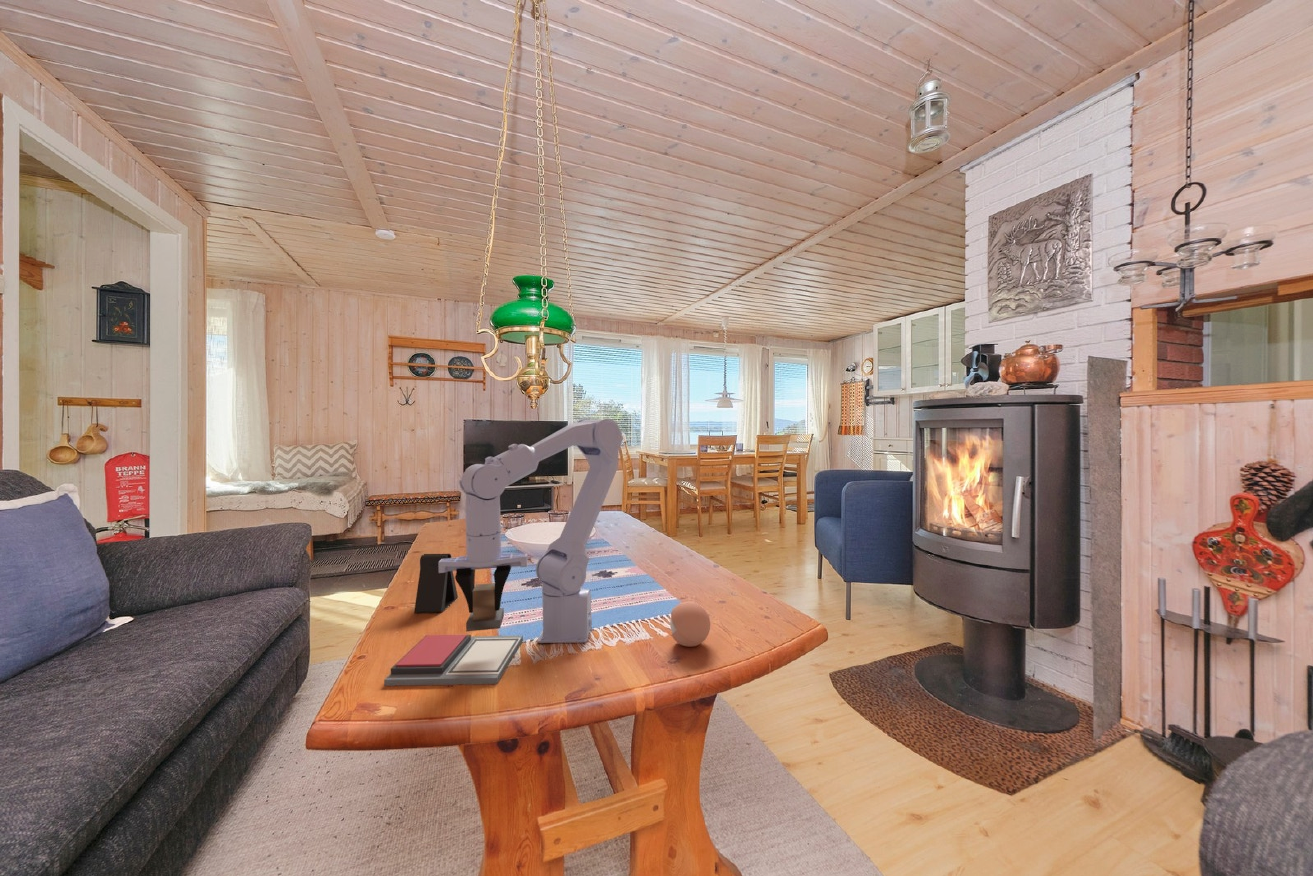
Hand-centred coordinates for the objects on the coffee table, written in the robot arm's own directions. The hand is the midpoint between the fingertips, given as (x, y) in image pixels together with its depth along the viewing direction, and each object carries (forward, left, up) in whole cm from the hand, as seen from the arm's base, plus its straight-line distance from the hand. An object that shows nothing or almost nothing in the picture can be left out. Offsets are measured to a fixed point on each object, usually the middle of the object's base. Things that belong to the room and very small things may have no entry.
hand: (485, 609), depth 82 cm
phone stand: (+21, -26, -9) cm, 34 cm away
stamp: (0, 0, -3) cm, 3 cm away
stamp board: (+5, 0, -9) cm, 10 cm away
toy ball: (-36, -5, -9) cm, 38 cm away
